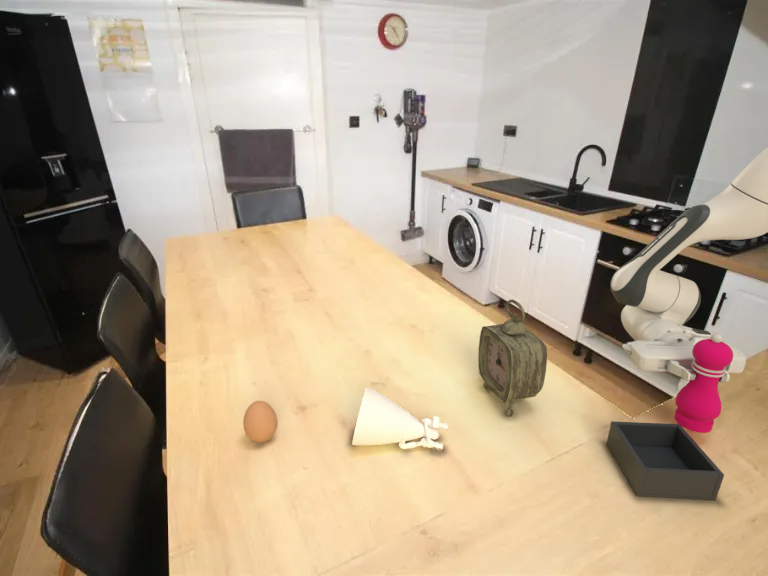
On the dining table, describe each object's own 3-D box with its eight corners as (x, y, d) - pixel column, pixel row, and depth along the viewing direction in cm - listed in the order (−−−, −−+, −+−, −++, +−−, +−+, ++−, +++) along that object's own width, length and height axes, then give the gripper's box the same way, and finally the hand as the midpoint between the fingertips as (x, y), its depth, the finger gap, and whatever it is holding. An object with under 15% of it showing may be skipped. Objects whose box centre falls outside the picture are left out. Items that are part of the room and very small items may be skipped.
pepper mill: (702, 439, 78) (730, 346, 71) (663, 418, 84) (685, 330, 77) (722, 427, 81) (751, 337, 74) (683, 407, 87) (706, 322, 80)
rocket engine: (456, 402, 80) (367, 380, 80) (447, 465, 74) (351, 441, 75) (445, 414, 90) (365, 394, 91) (436, 469, 84) (352, 448, 85)
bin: (673, 447, 80) (679, 424, 78) (715, 500, 69) (724, 474, 67) (606, 444, 82) (611, 421, 80) (636, 496, 70) (643, 470, 68)
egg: (244, 434, 87) (238, 398, 84) (276, 425, 89) (271, 389, 86) (248, 454, 81) (242, 416, 78) (282, 444, 84) (277, 407, 80)
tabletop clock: (476, 385, 102) (482, 292, 93) (508, 380, 104) (518, 287, 95) (506, 422, 88) (517, 317, 80) (543, 415, 90) (557, 311, 82)
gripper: (621, 330, 90) (654, 362, 78) (720, 331, 88) (771, 365, 76) (616, 355, 93) (647, 390, 80) (713, 357, 91) (761, 394, 78)
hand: (708, 378), depth 78 cm, fingers closed on pepper mill, 4 cm apart
